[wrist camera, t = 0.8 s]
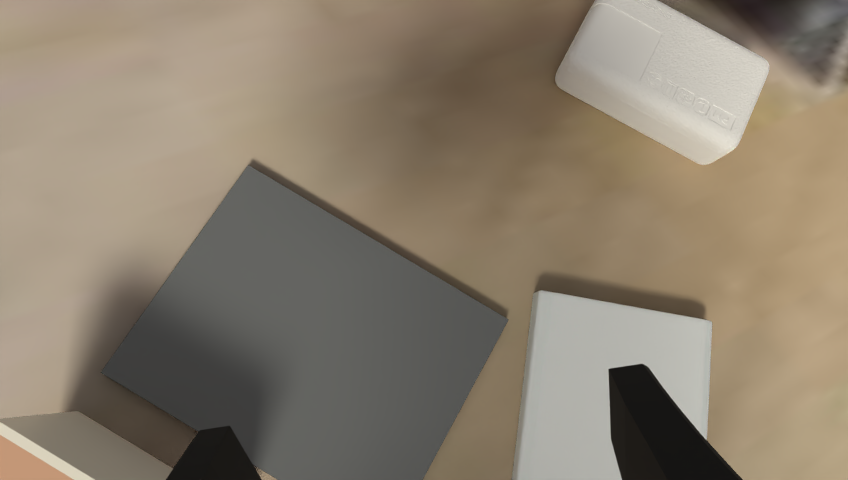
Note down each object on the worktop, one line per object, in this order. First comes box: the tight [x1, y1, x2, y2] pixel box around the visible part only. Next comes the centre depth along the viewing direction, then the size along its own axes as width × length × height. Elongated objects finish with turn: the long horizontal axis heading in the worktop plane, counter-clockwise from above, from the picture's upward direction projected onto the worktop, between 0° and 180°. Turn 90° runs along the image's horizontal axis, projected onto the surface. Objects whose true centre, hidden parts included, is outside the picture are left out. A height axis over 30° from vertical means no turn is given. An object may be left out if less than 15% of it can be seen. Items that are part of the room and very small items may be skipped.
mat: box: [101, 165, 508, 480], centre depth 26 cm, size 10×14×1 cm
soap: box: [555, 0, 769, 165], centre depth 30 cm, size 9×6×3 cm, turn 62°
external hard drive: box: [512, 290, 712, 480], centre depth 27 cm, size 2×8×12 cm
